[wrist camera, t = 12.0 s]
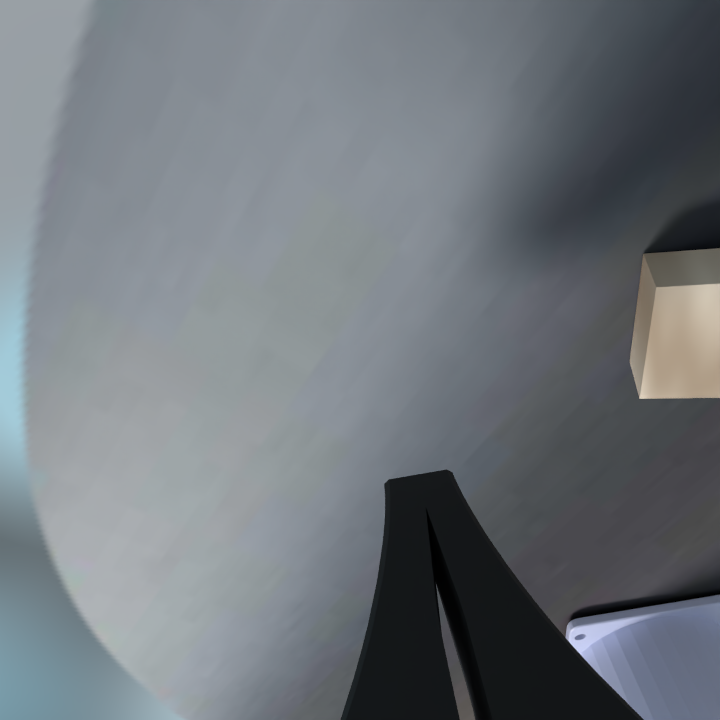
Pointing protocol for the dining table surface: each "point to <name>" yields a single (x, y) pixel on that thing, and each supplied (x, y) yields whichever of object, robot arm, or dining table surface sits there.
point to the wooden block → (678, 325)
